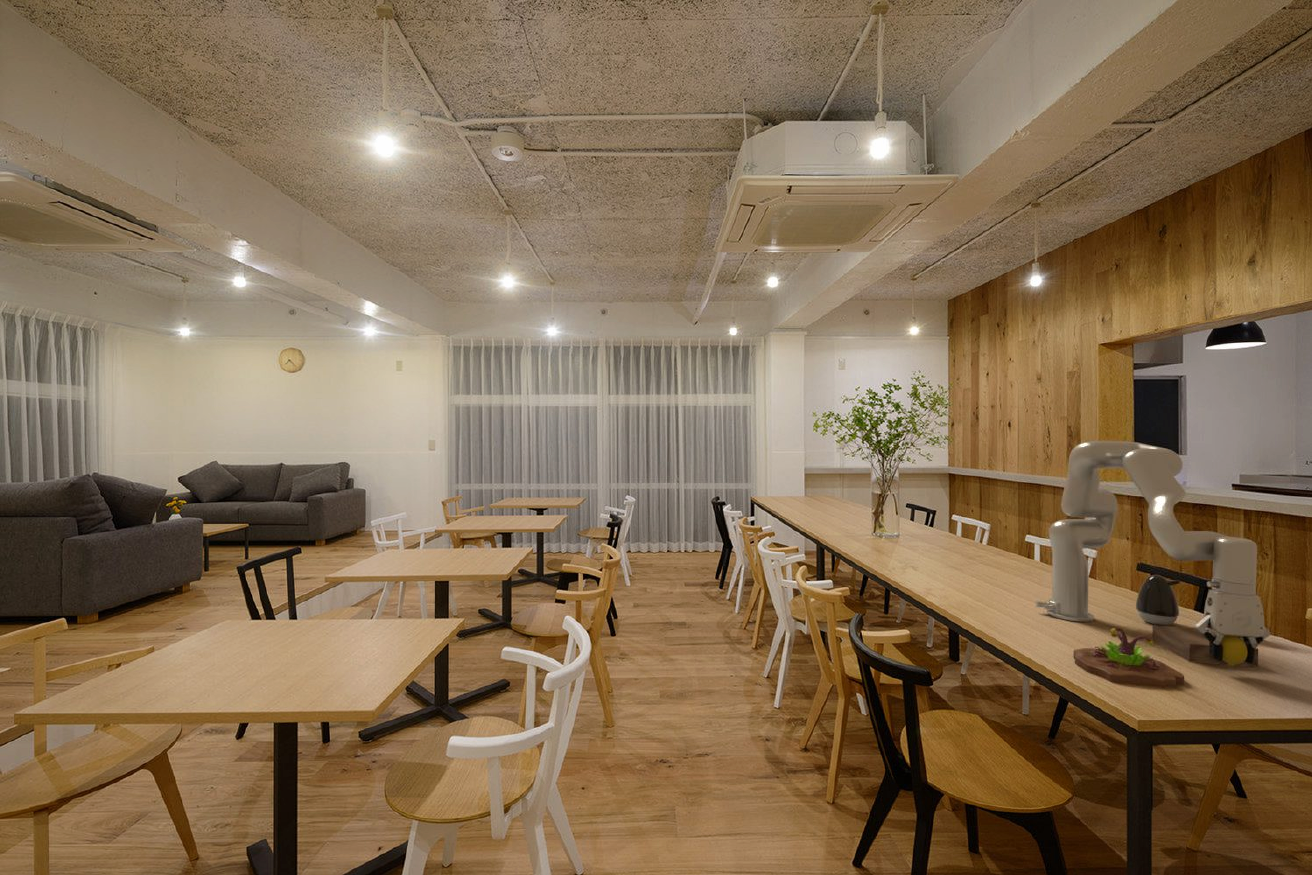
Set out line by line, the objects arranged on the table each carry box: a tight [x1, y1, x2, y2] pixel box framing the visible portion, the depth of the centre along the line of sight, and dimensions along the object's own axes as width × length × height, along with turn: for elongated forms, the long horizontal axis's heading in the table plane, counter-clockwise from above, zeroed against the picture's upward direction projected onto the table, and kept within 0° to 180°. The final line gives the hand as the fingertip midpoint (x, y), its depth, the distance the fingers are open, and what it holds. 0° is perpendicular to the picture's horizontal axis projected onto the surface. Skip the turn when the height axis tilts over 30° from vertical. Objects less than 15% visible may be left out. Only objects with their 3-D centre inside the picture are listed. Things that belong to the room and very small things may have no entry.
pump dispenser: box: [1135, 574, 1181, 626], centre depth 179 cm, size 10×10×15 cm
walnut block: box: [1151, 624, 1259, 668], centre depth 153 cm, size 15×15×5 cm
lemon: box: [1220, 635, 1248, 667], centre depth 140 cm, size 6×6×8 cm
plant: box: [1073, 627, 1185, 689], centre depth 142 cm, size 20×20×11 cm
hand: (1231, 659), depth 140 cm, fingers closed on lemon, 5 cm apart
